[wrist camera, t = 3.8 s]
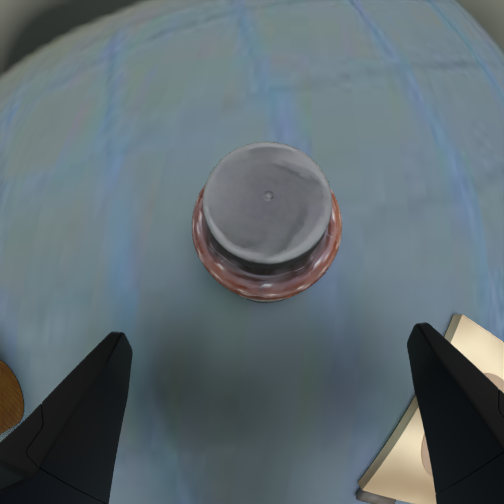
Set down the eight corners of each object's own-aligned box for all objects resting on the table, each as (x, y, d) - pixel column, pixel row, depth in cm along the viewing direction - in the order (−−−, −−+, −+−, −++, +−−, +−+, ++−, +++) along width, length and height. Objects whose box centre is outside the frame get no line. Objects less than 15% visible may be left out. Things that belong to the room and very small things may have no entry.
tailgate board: (449, 515, 16) (456, 522, 14) (349, 493, 17) (353, 502, 16) (533, 368, 18) (543, 369, 16) (453, 314, 19) (463, 314, 18)
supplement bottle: (227, 207, 21) (193, 106, 10) (316, 219, 21) (366, 127, 10) (212, 296, 20) (153, 279, 9) (306, 309, 20) (357, 307, 9)
